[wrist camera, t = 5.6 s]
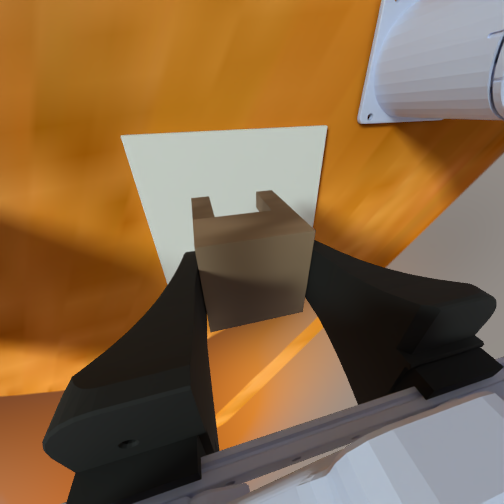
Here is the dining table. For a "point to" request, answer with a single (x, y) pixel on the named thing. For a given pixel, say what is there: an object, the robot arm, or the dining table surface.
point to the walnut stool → (252, 261)
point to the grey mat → (221, 177)
